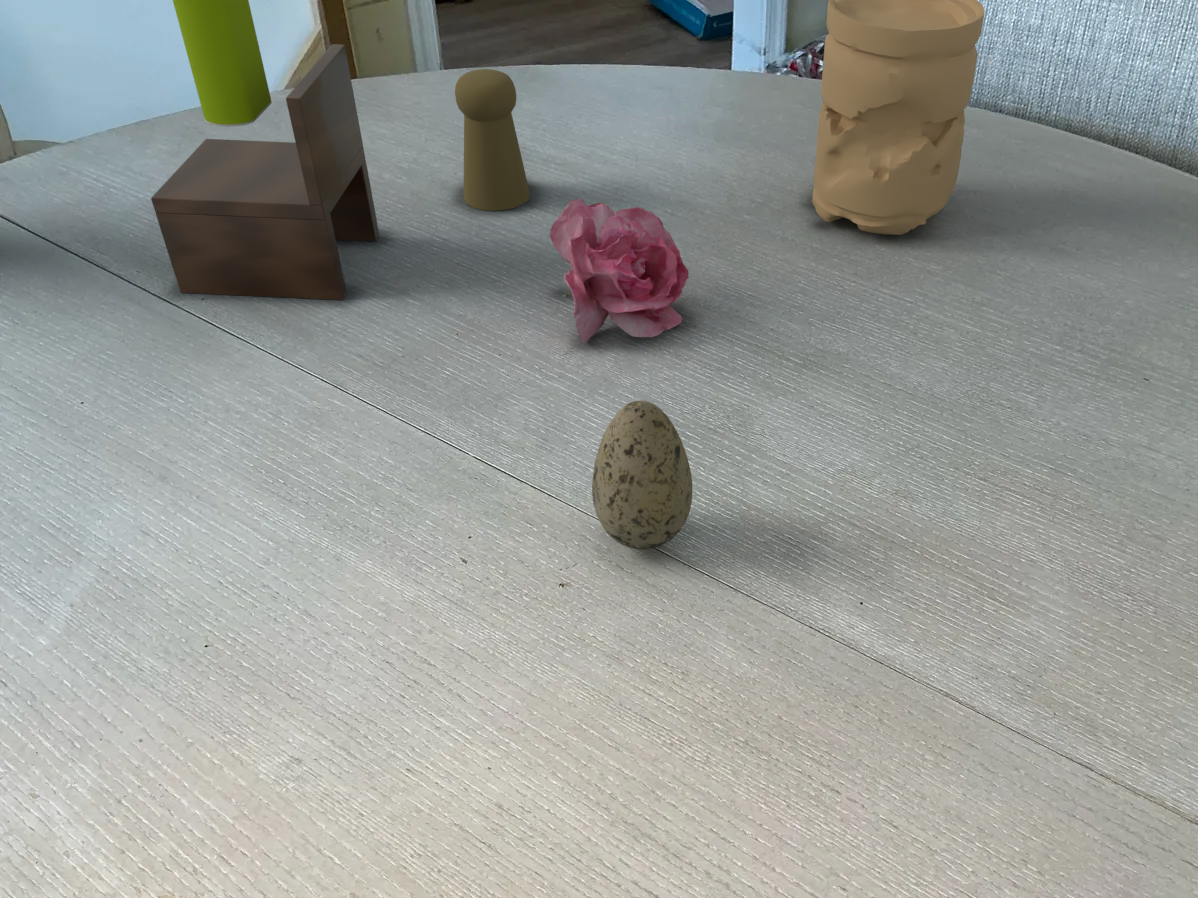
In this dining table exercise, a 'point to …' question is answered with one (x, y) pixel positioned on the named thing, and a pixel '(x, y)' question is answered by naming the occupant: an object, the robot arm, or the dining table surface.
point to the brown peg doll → (490, 141)
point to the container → (893, 109)
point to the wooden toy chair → (274, 200)
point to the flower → (619, 268)
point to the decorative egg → (641, 478)
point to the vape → (224, 60)
